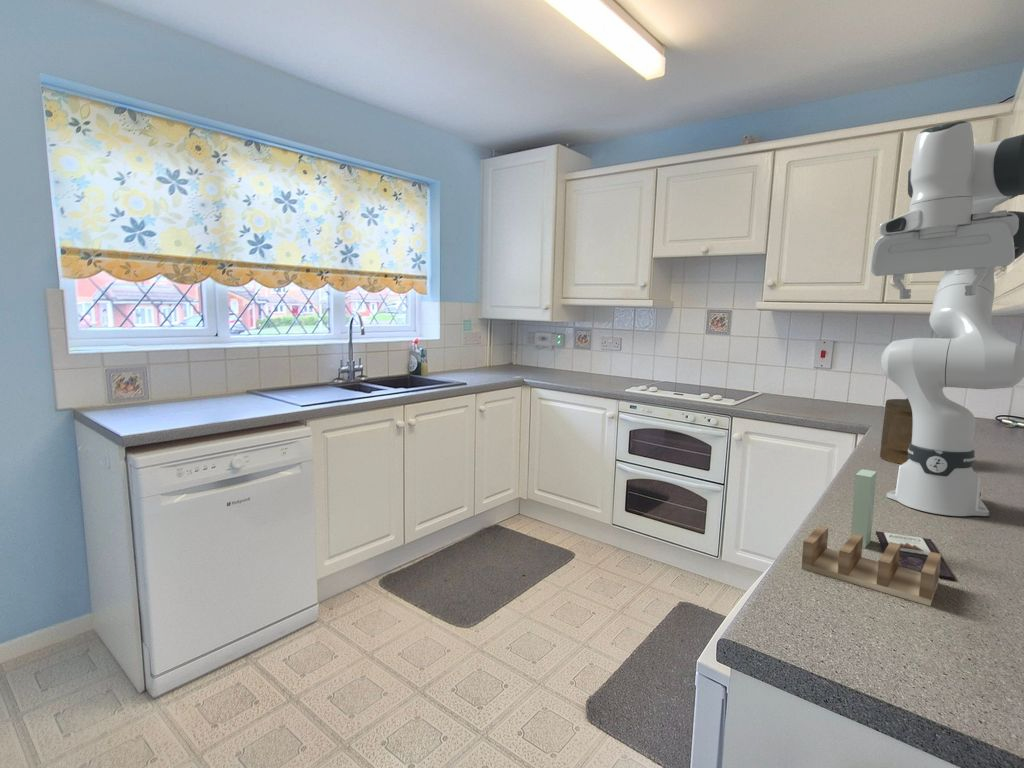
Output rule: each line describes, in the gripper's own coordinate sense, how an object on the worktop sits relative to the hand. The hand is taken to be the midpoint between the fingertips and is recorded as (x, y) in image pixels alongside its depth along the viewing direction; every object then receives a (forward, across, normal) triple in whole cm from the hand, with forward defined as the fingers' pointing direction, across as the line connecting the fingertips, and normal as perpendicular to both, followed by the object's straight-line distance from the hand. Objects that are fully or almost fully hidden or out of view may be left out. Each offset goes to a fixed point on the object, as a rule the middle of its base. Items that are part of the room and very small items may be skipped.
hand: (936, 297), depth 98 cm
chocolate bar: (+48, +1, +7) cm, 48 cm away
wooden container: (+51, +16, -74) cm, 91 cm away
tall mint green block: (+47, +9, +8) cm, 48 cm away
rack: (+46, +5, +22) cm, 51 cm away
